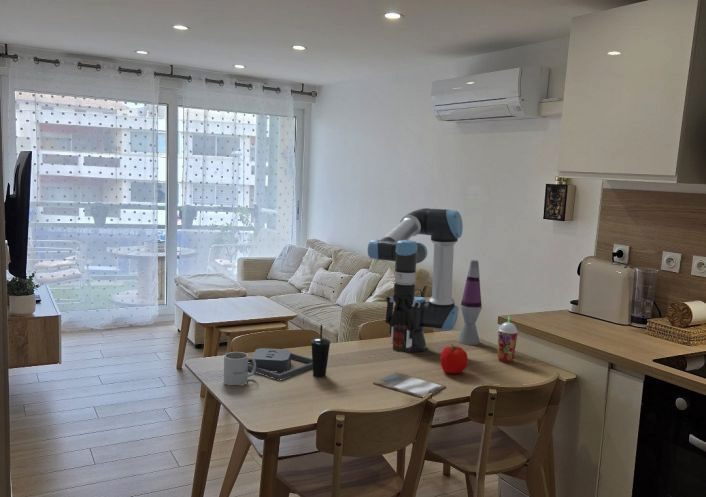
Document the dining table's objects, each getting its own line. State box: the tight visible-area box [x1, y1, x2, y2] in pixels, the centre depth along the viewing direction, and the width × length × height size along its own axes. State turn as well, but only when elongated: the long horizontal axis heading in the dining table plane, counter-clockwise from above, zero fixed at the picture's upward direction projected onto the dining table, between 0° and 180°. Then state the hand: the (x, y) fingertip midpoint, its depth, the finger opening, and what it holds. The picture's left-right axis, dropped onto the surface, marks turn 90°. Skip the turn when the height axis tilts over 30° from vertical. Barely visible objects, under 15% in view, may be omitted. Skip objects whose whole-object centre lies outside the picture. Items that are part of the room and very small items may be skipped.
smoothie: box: [497, 315, 519, 364], centre depth 252 cm, size 8×8×20 cm
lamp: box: [457, 259, 483, 346], centre depth 278 cm, size 11×11×40 cm
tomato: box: [439, 344, 469, 374], centre depth 233 cm, size 12×12×11 cm
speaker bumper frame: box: [248, 352, 313, 381], centre depth 232 cm, size 24×24×2 cm
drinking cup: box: [310, 324, 332, 378], centre depth 222 cm, size 8×8×20 cm
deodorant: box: [392, 308, 409, 353], centre depth 211 cm, size 6×6×15 cm
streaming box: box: [250, 347, 292, 373], centre depth 231 cm, size 14×14×5 cm
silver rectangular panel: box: [373, 371, 447, 398], centre depth 217 cm, size 22×16×1 cm
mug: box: [223, 351, 256, 386], centre depth 212 cm, size 12×9×10 cm
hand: (401, 344), depth 212 cm, fingers closed on deodorant, 6 cm apart
